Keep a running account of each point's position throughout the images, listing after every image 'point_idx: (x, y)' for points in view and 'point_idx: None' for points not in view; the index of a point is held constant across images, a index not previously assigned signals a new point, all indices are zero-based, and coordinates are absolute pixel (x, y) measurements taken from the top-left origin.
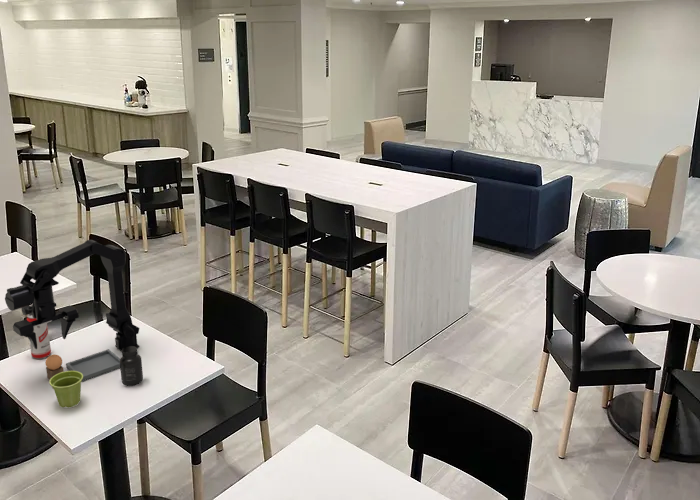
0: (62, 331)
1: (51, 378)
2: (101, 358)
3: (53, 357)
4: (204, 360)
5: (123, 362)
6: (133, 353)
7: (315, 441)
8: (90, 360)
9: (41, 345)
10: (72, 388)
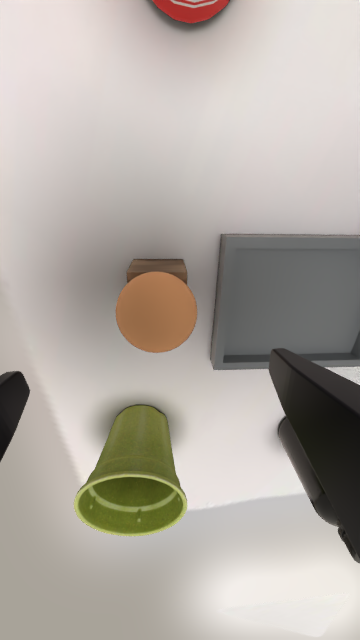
0: (314, 405)
1: (87, 487)
2: (350, 268)
3: (151, 346)
4: None
5: (320, 514)
6: None
7: (331, 598)
8: (315, 254)
9: None
10: (136, 515)
